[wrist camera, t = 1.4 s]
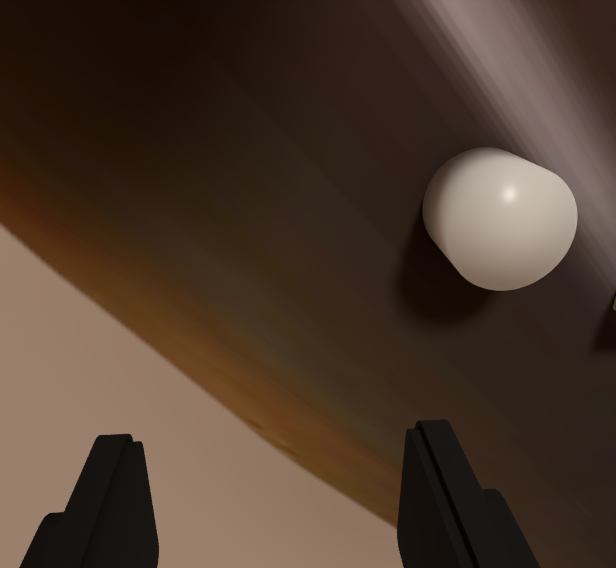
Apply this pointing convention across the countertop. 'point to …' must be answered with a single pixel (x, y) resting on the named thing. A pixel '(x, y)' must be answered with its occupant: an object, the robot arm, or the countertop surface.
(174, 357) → the countertop surface
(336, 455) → the countertop surface
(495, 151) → the white domed cylinder
